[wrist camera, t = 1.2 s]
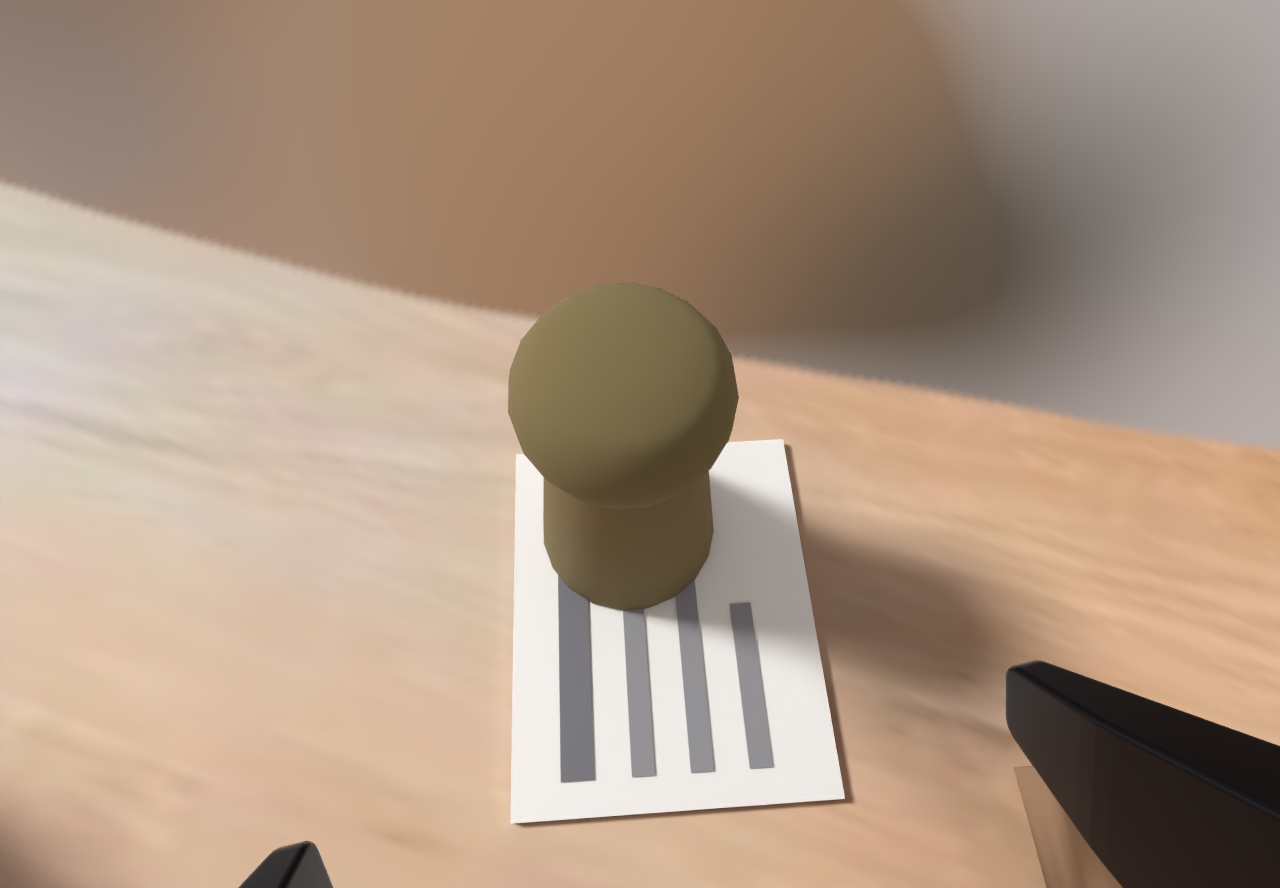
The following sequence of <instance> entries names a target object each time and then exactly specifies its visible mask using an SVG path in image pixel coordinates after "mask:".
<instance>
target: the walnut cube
mask: <svg viewBox="0 0 1280 888" xmlns="http://www.w3.org/2000/svg"><path fill="white" fill-rule="evenodd" d="M1014 770H1015V774H1016V777H1017V781H1018V785H1019V788H1020V792H1021V796H1022V799H1023V803H1024V807H1025V810H1026V814H1027V817H1028V821H1029V825H1030V828H1031V832H1032V836H1033V839H1034V843H1035V847H1036V850H1037V854H1038V858H1039V861H1040V865H1041V868H1042V872H1043V876H1044V879H1045V883H1046V887H1047V888H1122V887H1121V885H1120V884H1119V883H1118V882H1117V881H1116V879H1115V878H1114V877H1113V876H1112V875H1111V873H1110V872H1109V871H1108V870H1107V868H1106V867H1105V866H1104V865H1103V864H1102V862H1101V861H1100V860H1099V858H1098V857H1097V856H1096V855H1095V853H1094V852H1093V851H1092V850H1091V848H1090V847H1089V846H1088V844H1087V843H1086V842H1085V840H1084V839H1083V838H1082V836H1081V835H1080V833H1079V832H1078V831H1077V829H1076V828H1075V826H1074V825H1073V824H1072V822H1071V821H1070V819H1069V818H1068V816H1067V815H1066V813H1065V812H1064V810H1063V809H1062V808H1061V806H1060V805H1059V803H1058V802H1057V800H1056V799H1055V797H1054V796H1053V794H1052V793H1051V792H1050V790H1049V789H1048V787H1047V786H1046V784H1045V783H1044V781H1043V780H1042V778H1041V777H1040V776H1039V774H1038V773H1037V771H1036V770H1035V768H1034V767H1033V766H1023V767H1014Z"/></svg>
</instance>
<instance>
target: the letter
mask: <svg viewBox="0 0 1280 888" xmlns="http://www.w3.org/2000/svg"><path fill="white" fill-rule="evenodd" d="M709 479H710V491H711V503H712V516H713V528H714V532H713V537H712V542H711V547H710V552H709V556H708V558H707V560H706V562H705V563H704V565H703V567H702V568H701V570H700V572H699V574H698V575H697V577H696V579H695V580H694V581H693V582H691V583H690V584H689V585H688V586H687V587H686V588H685V589H683V590H682V591H681V592H680V593H679V594H678V595H677V596H675V597H674V598H672V599H669V600H667V601H664V602H662V603H660V604H657V605H655V606H652V607H650V608H644V609H631V610H617V609H613V608H609V607H605V606H601V605H597V604H593V603H591V602H590V601H588V600H586V599H585V598H583V597H582V596H580V595H579V594H577V593H575V592H574V591H572V590H571V589H569V587H568V586H567V585H566V584H565V583H564V581H563V580H562V579H561V578H560V576H559V575H558V574H557V573H556V571H555V570H554V569H553V567H552V565H551V562H550V559H549V556H548V554H547V551H546V548H545V545H544V526H543V485H544V477H543V476H542V475H541V473H540V472H539V471H538V470H537V469H536V468H535V466H534V465H533V464H532V463H531V462H530V461H529V459H528V458H527V457H526V456H525V455H524V454H516V498H515V564H514V629H513V695H512V761H511V824H512V823H525V822H539V821H552V820H566V819H579V818H593V817H606V816H620V815H633V814H647V813H660V812H674V811H687V810H700V809H714V808H727V807H741V806H754V805H768V804H781V803H795V802H808V801H822V800H835V799H845V796H844V790H843V784H842V778H841V772H840V767H839V761H838V755H837V749H836V744H835V738H834V732H833V726H832V720H831V715H830V709H829V703H828V697H827V692H826V686H825V680H824V674H823V668H822V663H821V657H820V651H819V645H818V639H817V634H816V628H815V622H814V616H813V611H812V605H811V599H810V593H809V587H808V582H807V576H806V570H805V564H804V559H803V553H802V547H801V541H800V535H799V530H798V524H797V518H796V512H795V506H794V501H793V495H792V489H791V483H790V478H789V472H788V466H787V460H786V454H785V449H784V443H783V439H778V440H760V441H743V442H727V444H726V445H725V447H724V449H723V450H722V452H721V454H720V455H719V457H718V458H717V460H716V462H715V463H714V465H713V466H712V468H711V469H710V470H709Z"/></svg>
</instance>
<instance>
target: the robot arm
mask: <svg viewBox="0 0 1280 888" xmlns="http://www.w3.org/2000/svg"><path fill="white" fill-rule="evenodd" d="M1006 720H1007V725H1008V727H1009V730H1010V732H1011V734H1012V736H1013V738H1014V739H1015V741H1016V742H1017V744H1018V745H1019V747H1020V748H1021V749H1022V751H1023V752H1024V754H1025V755H1026V757H1027V758H1028V760H1029V761H1030V763H1031V764H1032V765H1033V767H1034V768H1035V770H1036V771H1037V773H1038V774H1039V776H1040V777H1041V778H1042V780H1043V781H1044V783H1045V784H1046V786H1047V787H1048V789H1049V790H1050V792H1051V793H1052V794H1053V796H1054V797H1055V799H1056V800H1057V802H1058V803H1059V805H1060V806H1061V808H1062V809H1063V810H1064V812H1065V813H1066V815H1067V816H1068V818H1069V819H1070V821H1071V822H1072V824H1073V825H1074V826H1075V828H1076V829H1077V831H1078V832H1079V833H1080V835H1081V836H1082V838H1083V839H1084V840H1085V842H1086V843H1087V844H1088V846H1089V847H1090V848H1091V850H1092V851H1093V852H1094V853H1095V855H1096V856H1097V857H1098V858H1099V860H1100V861H1101V862H1102V864H1103V865H1104V866H1105V867H1106V868H1107V870H1108V871H1109V872H1110V873H1111V875H1112V876H1113V877H1114V878H1115V879H1116V881H1117V882H1118V883H1119V884H1120V885H1121V887H1122V888H1280V746H1278V745H1275V744H1272V743H1270V742H1267V741H1264V740H1261V739H1258V738H1256V737H1253V736H1250V735H1247V734H1245V733H1242V732H1239V731H1236V730H1233V729H1231V728H1228V727H1225V726H1222V725H1219V724H1217V723H1214V722H1211V721H1208V720H1205V719H1203V718H1200V717H1197V716H1194V715H1191V714H1189V713H1186V712H1183V711H1180V710H1177V709H1175V708H1172V707H1169V706H1166V705H1164V704H1161V703H1158V702H1155V701H1152V700H1150V699H1147V698H1144V697H1141V696H1138V695H1136V694H1133V693H1130V692H1127V691H1124V690H1122V689H1119V688H1116V687H1113V686H1110V685H1108V684H1105V683H1102V682H1099V681H1097V680H1094V679H1091V678H1088V677H1085V676H1083V675H1080V674H1077V673H1074V672H1071V671H1069V670H1066V669H1063V668H1060V667H1057V666H1055V665H1052V664H1049V663H1046V662H1043V661H1031V662H1027V663H1023V664H1018V665H1014V666H1012V667H1010V668H1009V669H1008V671H1007V673H1006ZM239 888H333V886H332V884H331V881H330V879H329V876H328V874H327V871H326V868H325V866H324V863H323V861H322V858H321V856H320V853H319V851H318V849H317V847H316V845H315V844H314V843H313V842H310V841H304V842H300V843H296V844H292V845H288V846H284V847H280V848H278V849H276V850H274V851H273V852H272V853H271V854H270V855H269V856H268V857H267V858H266V859H265V860H264V861H263V862H262V863H261V864H260V865H259V866H258V867H257V868H256V869H255V871H254V872H253V873H252V874H251V875H250V876H249V877H248V878H247V879H246V880H245V881H244V882H243V883H242V884H241V886H240V887H239Z"/></svg>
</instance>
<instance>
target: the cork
mask: <svg viewBox="0 0 1280 888" xmlns="http://www.w3.org/2000/svg"><path fill="white" fill-rule="evenodd" d="M738 398H739V397H738V390H737V384H736V378H735V372H734V366H733V361H732V356H731V353H730V352H729V350H728V348H727V346H726V344H725V343H724V341H723V339H722V337H721V336H720V334H719V332H718V330H717V328H716V327H715V326H714V325H712V324H711V323H710V322H709V321H708V320H707V319H706V318H705V317H704V316H703V315H702V314H701V313H700V312H698V311H697V310H696V309H695V308H694V307H693V306H692V305H691V304H689V303H688V302H687V301H685V300H683V299H681V298H679V297H677V296H675V295H673V294H671V293H669V292H667V291H665V290H662V289H661V288H656V287H651V286H645V285H640V284H635V283H616V284H601V285H597V286H594V287H592V288H588V289H585V290H582V291H579V292H576V293H573V294H571V295H569V296H568V297H566V298H565V299H563V300H562V301H560V302H559V303H557V304H556V305H554V306H553V307H551V308H550V309H548V310H547V311H546V312H545V313H544V314H543V315H542V316H541V317H540V318H539V319H538V320H537V322H536V323H535V324H534V325H533V326H532V328H531V329H530V330H529V331H528V332H527V334H526V335H525V336H524V337H523V339H522V340H521V342H520V344H519V347H518V350H517V352H516V355H515V358H514V360H513V363H512V366H511V368H510V375H509V403H508V413H509V416H510V418H511V421H512V424H513V427H514V429H515V432H516V435H517V437H518V440H519V443H520V445H521V448H522V450H523V452H524V455H525V456H526V457H527V458H528V459H529V461H530V462H531V463H532V464H533V465H534V466H535V468H536V469H537V470H538V471H539V472H540V473H541V475H542V476H543V477H544V485H543V526H544V545H545V548H546V551H547V554H548V556H549V559H550V562H551V565H552V567H553V569H554V570H555V571H556V573H557V574H558V575H559V576H560V578H561V579H562V580H563V581H564V583H565V584H566V585H567V586H568V587H569V589H571V590H572V591H574V592H575V593H577V594H579V595H580V596H582V597H583V598H585V599H586V600H588V601H590V602H591V603H593V604H597V605H601V606H605V607H609V608H613V609H617V610H631V609H644V608H650V607H652V606H655V605H657V604H660V603H662V602H664V601H667V600H669V599H672V598H674V597H675V596H677V595H678V594H679V593H680V592H681V591H682V590H683V589H685V588H686V587H687V586H688V585H689V584H690V583H691V582H693V581H694V580H695V579H696V577H697V575H698V574H699V572H700V570H701V568H702V567H703V565H704V563H705V562H706V560H707V558H708V556H709V552H710V547H711V542H712V537H713V532H714V528H713V516H712V503H711V491H710V479H709V470H710V469H711V468H712V466H713V465H714V463H715V462H716V460H717V458H718V457H719V455H720V454H721V452H722V450H723V449H724V447H725V445H726V444H727V442H728V441H729V438H730V434H731V431H732V428H733V423H734V418H735V413H736V408H737V403H738Z"/></svg>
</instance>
